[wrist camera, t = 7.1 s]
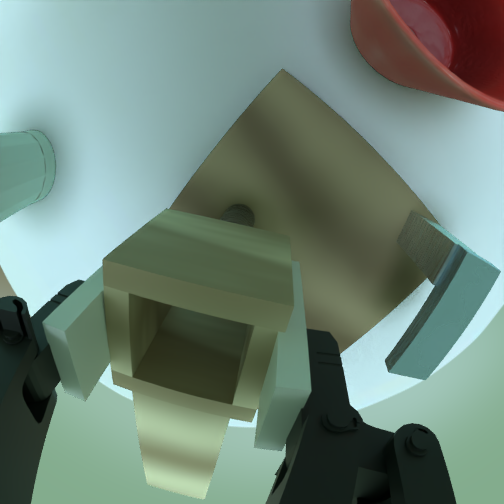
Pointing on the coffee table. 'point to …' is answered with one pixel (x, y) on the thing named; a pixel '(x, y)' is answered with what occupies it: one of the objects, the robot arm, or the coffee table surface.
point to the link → (194, 335)
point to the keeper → (439, 296)
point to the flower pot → (435, 46)
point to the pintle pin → (239, 215)
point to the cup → (24, 170)
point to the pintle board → (316, 205)
